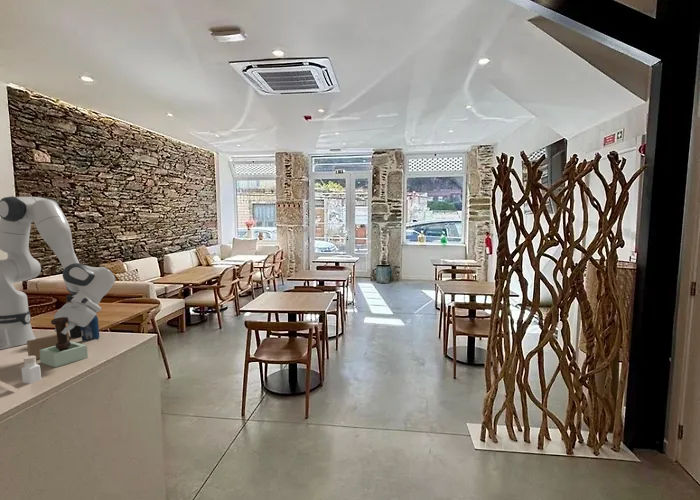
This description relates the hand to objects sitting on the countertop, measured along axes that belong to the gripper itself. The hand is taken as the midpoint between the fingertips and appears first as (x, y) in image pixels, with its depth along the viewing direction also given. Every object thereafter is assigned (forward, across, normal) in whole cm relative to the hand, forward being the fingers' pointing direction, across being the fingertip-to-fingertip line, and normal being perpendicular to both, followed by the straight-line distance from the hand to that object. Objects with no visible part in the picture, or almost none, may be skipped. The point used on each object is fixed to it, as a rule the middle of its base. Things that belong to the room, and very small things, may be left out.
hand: (59, 332), depth 158 cm
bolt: (+6, 0, +8) cm, 10 cm away
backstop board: (+8, -3, +9) cm, 13 cm away
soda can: (-6, -20, +24) cm, 32 cm away
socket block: (+7, 0, +8) cm, 11 cm away
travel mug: (-7, -34, +25) cm, 43 cm away
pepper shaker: (+20, +13, -2) cm, 23 cm away
